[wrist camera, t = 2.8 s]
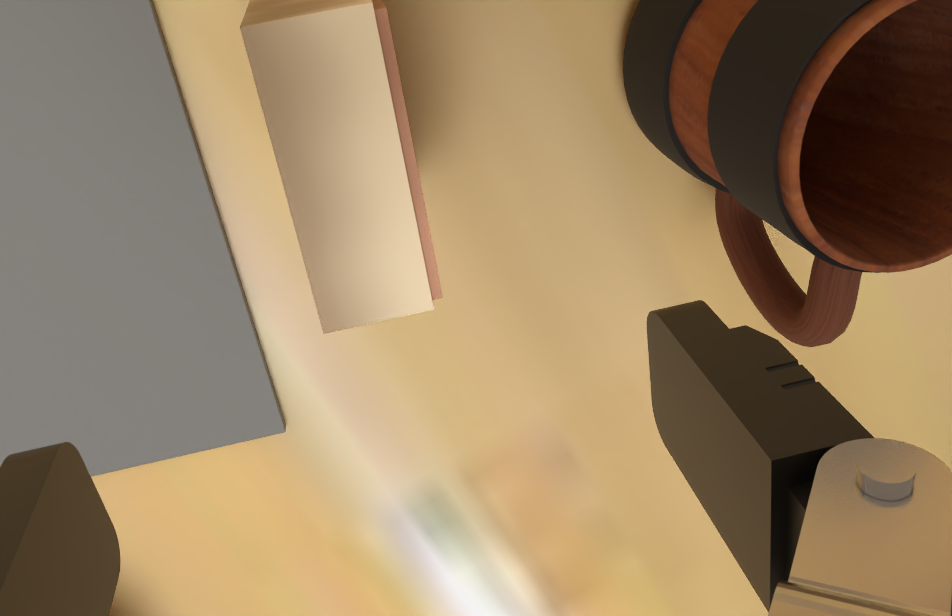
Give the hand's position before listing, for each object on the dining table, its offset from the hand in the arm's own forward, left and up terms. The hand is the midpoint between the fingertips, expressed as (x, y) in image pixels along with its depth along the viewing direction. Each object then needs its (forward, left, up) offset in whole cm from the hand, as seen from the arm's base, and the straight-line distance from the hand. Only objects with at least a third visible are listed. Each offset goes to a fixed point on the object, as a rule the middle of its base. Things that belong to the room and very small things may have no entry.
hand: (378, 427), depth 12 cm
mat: (+12, +4, -21) cm, 24 cm away
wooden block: (0, 0, -21) cm, 21 cm away
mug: (-14, +3, -21) cm, 25 cm away
